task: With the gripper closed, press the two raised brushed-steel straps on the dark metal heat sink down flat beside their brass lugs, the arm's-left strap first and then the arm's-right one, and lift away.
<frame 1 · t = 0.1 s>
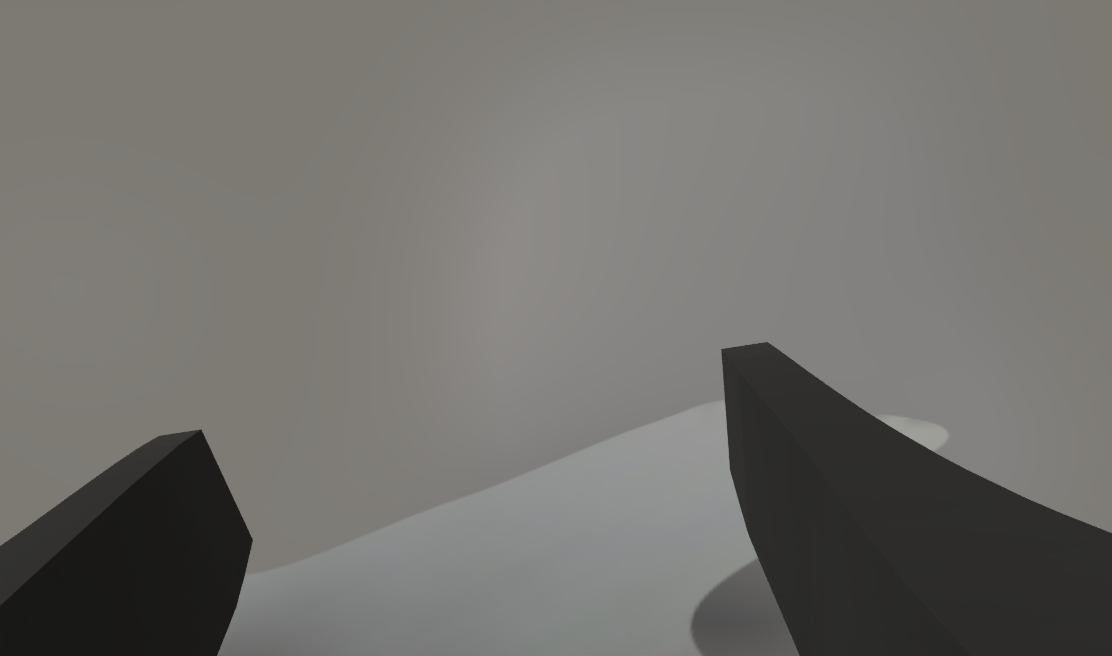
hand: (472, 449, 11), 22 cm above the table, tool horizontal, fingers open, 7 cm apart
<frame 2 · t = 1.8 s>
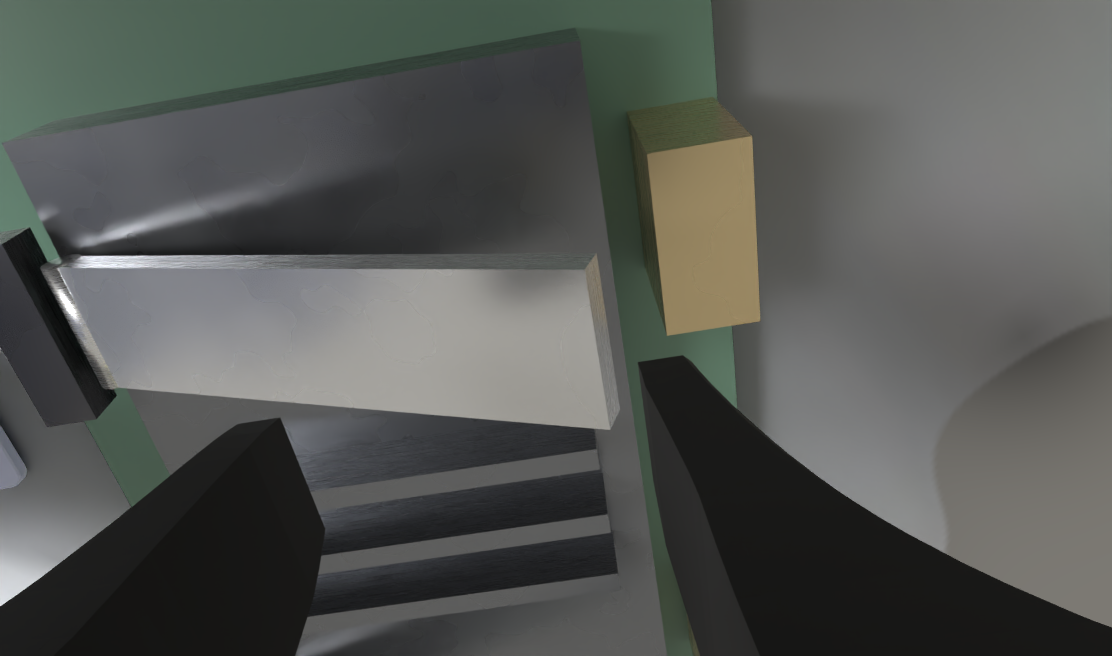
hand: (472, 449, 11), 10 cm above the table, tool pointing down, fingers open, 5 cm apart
circuit board: (431, 441, 23), on the table
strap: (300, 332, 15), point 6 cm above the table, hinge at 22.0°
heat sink: (445, 500, 21), on the circuit board, point 3 cm above the table
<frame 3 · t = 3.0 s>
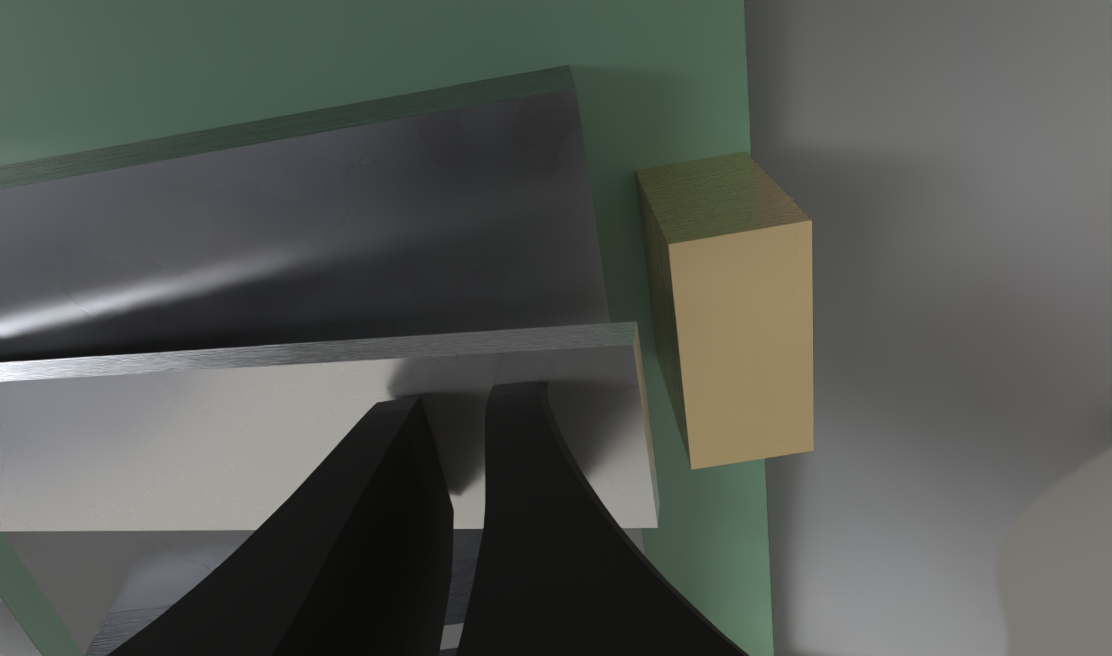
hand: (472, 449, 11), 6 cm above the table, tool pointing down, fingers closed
circuit board: (397, 553, 19), on the table
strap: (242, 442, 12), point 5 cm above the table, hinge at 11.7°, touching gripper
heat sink: (410, 641, 17), on the circuit board, point 3 cm above the table
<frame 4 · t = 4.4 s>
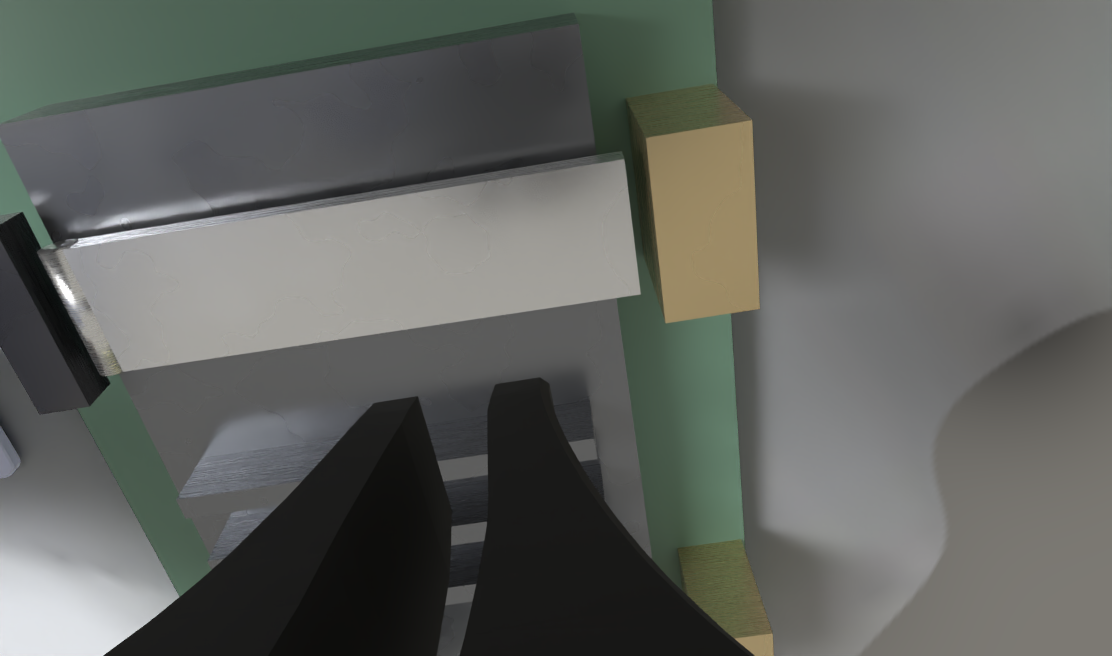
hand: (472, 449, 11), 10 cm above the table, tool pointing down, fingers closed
circuit board: (428, 432, 23), on the table
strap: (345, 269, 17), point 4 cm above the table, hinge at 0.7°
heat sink: (441, 490, 21), on the circuit board, point 3 cm above the table
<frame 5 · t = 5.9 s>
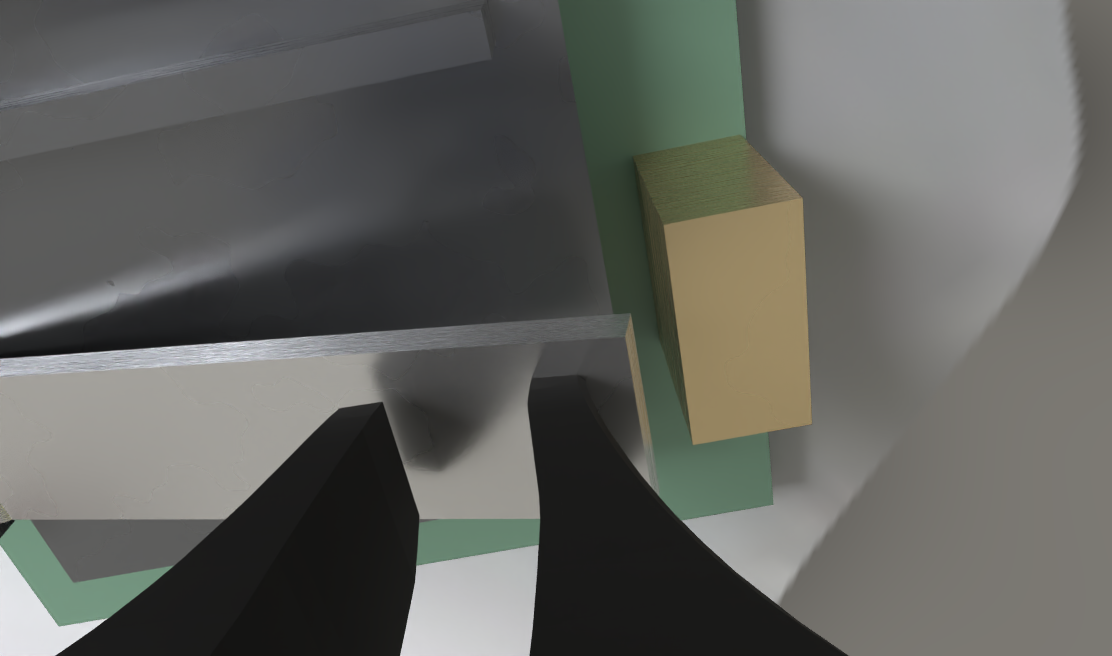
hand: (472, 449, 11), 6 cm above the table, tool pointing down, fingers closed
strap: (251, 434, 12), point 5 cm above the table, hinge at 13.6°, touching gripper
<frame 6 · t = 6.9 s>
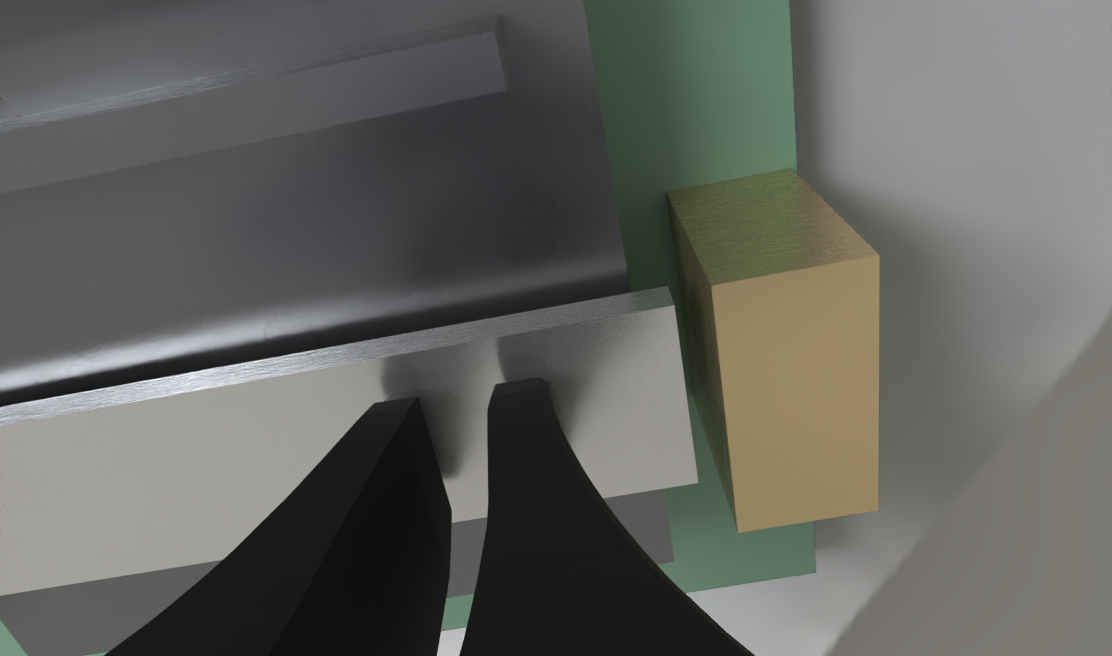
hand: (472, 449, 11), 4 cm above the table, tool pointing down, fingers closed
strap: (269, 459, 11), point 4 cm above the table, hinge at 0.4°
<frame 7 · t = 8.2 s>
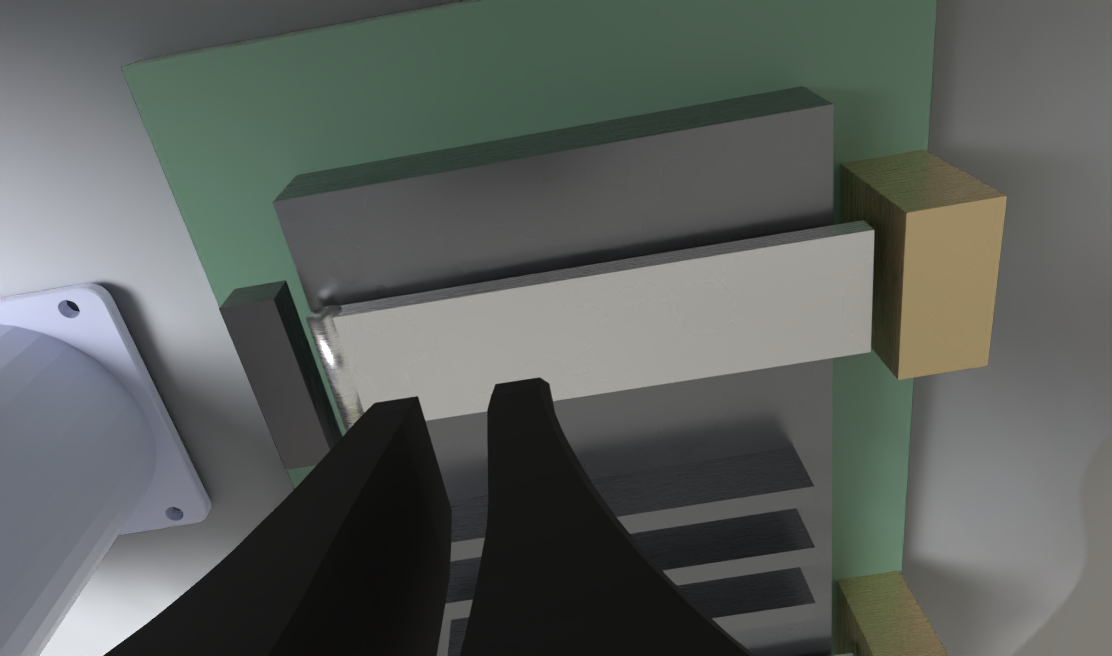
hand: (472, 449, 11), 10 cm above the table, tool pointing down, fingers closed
circuit board: (604, 473, 24), on the table
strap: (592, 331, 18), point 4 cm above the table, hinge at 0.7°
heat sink: (639, 532, 22), on the circuit board, point 3 cm above the table
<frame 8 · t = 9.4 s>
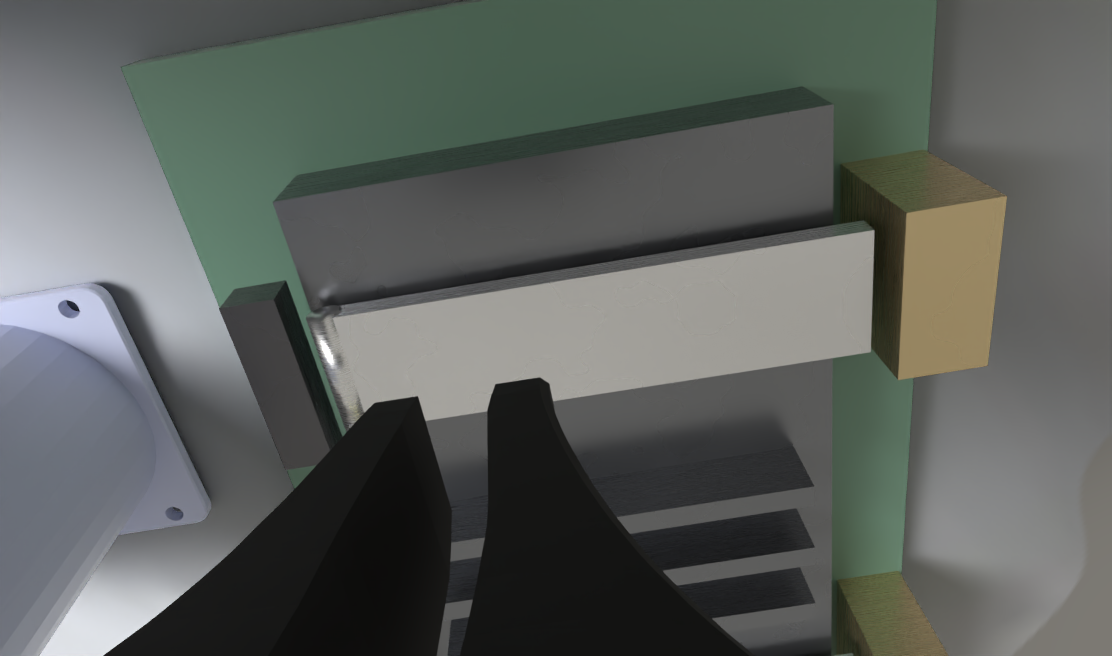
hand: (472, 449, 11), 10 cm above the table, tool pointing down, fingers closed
circuit board: (604, 473, 24), on the table
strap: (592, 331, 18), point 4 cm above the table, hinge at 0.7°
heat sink: (639, 532, 22), on the circuit board, point 3 cm above the table
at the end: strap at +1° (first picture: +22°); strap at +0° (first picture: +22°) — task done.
